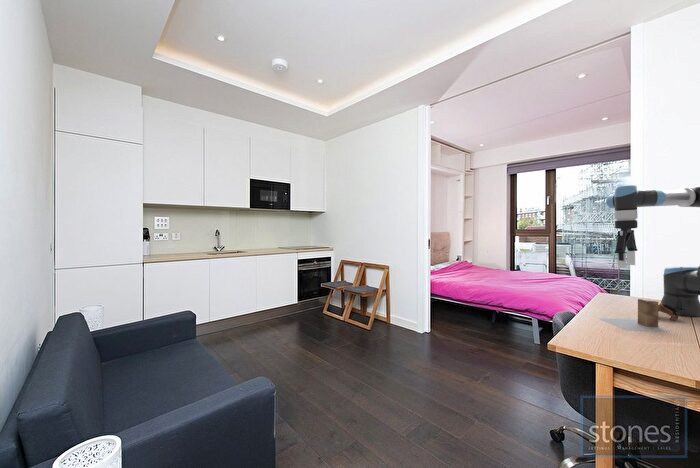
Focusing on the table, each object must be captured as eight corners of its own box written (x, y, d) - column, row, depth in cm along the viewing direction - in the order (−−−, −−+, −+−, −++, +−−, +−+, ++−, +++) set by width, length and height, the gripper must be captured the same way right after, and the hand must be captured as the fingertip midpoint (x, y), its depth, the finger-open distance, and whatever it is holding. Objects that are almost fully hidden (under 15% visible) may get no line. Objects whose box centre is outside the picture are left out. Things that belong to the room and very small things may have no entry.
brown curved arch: (657, 316, 146) (669, 303, 142) (674, 330, 137) (688, 317, 133) (634, 310, 145) (646, 297, 141) (650, 324, 137) (663, 311, 133)
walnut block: (648, 323, 131) (649, 298, 131) (658, 327, 127) (658, 301, 126) (637, 323, 132) (637, 298, 131) (646, 326, 127) (646, 301, 127)
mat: (640, 320, 138) (640, 319, 138) (673, 332, 122) (673, 331, 122) (598, 319, 140) (598, 318, 140) (625, 331, 124) (625, 330, 124)
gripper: (623, 219, 145) (624, 263, 145) (605, 220, 131) (606, 268, 131) (644, 219, 138) (645, 264, 139) (628, 219, 124) (629, 270, 125)
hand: (626, 266), depth 135 cm, fingers open, 13 cm apart
